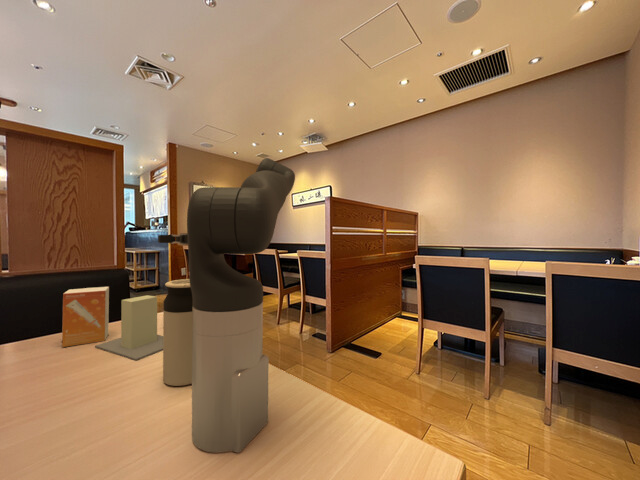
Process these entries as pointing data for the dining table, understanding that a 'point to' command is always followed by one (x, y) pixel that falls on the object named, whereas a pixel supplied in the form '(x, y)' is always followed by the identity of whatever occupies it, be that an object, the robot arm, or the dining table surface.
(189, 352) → the travel mug
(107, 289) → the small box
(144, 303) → the tall tan pillar block
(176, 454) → the dining table surface
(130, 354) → the rubber mat
